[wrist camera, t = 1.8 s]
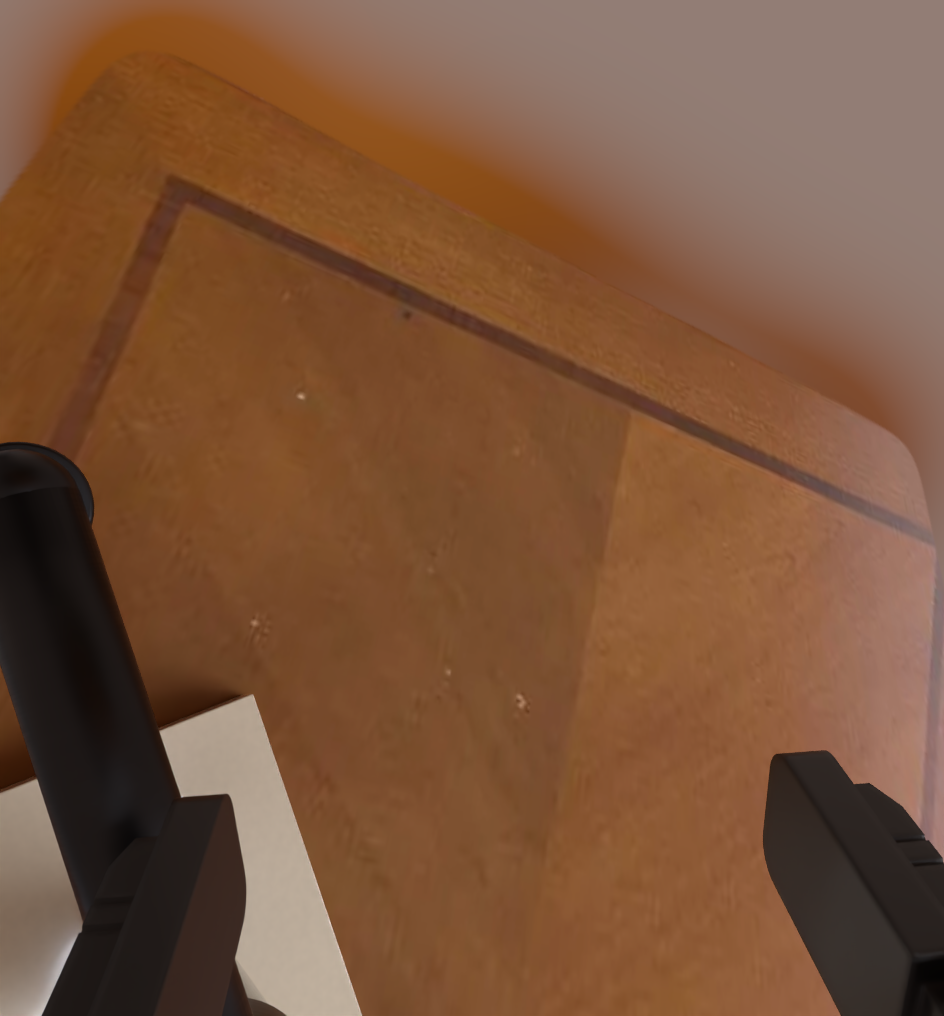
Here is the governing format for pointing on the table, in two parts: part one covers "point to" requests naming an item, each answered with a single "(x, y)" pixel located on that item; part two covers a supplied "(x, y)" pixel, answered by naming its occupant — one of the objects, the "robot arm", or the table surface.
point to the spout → (79, 679)
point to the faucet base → (266, 857)
